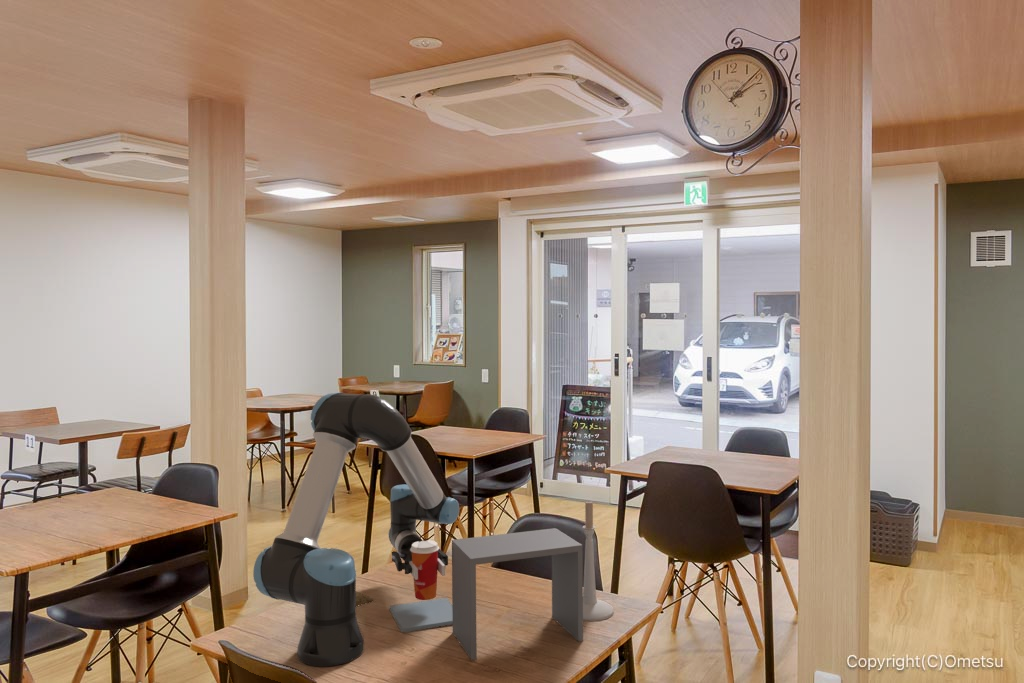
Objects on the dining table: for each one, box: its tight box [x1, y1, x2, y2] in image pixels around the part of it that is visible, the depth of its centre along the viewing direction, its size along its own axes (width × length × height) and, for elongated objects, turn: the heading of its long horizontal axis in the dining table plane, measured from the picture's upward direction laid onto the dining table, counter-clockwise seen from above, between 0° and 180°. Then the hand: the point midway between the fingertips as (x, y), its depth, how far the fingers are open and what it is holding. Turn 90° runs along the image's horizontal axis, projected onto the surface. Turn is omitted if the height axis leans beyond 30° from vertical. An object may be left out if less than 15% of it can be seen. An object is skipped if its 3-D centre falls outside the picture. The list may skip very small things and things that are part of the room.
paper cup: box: [410, 539, 440, 601], centre depth 194 cm, size 8×8×14 cm
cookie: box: [356, 591, 376, 607], centre depth 206 cm, size 12×12×1 cm
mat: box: [389, 597, 453, 633], centre depth 194 cm, size 16×16×1 cm
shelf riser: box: [451, 527, 584, 661], centre depth 181 cm, size 28×16×24 cm, turn 110°
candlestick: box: [582, 500, 615, 622], centre depth 196 cm, size 13×13×30 cm
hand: (430, 572), depth 189 cm, fingers closed on paper cup, 6 cm apart
